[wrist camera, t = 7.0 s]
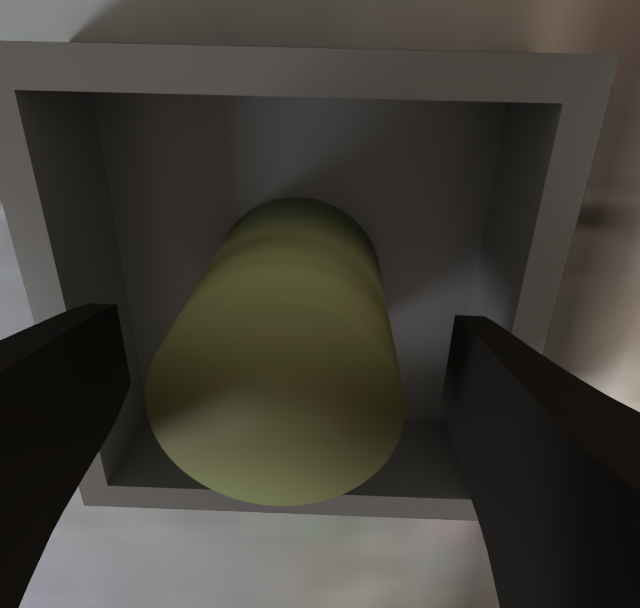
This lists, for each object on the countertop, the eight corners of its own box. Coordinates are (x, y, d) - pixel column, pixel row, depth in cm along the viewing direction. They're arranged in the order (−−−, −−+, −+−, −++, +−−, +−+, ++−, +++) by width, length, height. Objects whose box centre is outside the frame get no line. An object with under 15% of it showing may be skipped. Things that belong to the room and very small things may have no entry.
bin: (465, 425, 18) (498, 521, 14) (134, 413, 18) (84, 505, 14) (538, 53, 12) (620, 54, 9) (66, 42, 12) (-43, 39, 9)
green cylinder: (373, 348, 15) (393, 510, 10) (222, 343, 15) (161, 501, 10) (385, 199, 13) (419, 302, 8) (211, 194, 13) (126, 293, 8)
